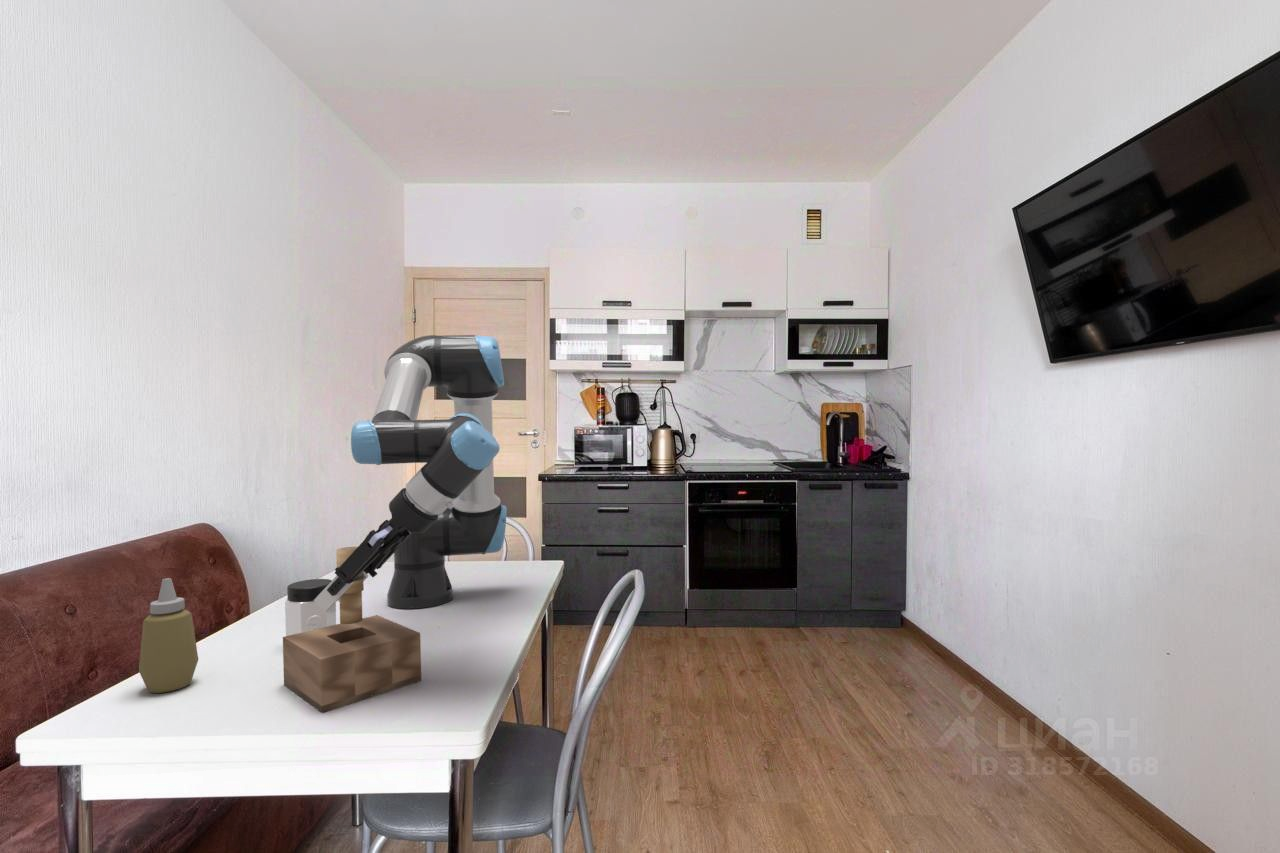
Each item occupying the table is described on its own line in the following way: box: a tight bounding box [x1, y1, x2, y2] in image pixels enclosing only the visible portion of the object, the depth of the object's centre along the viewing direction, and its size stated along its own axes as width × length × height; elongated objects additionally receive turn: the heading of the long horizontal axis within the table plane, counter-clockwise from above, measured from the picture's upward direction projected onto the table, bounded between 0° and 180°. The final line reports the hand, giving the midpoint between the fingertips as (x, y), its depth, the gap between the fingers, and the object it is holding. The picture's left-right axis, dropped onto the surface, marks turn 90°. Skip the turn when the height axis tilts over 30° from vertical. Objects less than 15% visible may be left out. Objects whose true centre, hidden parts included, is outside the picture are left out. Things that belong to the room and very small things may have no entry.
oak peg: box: [335, 546, 365, 624], centre depth 109 cm, size 4×4×12 cm
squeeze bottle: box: [138, 577, 199, 694], centre depth 110 cm, size 8×8×18 cm
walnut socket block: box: [282, 614, 422, 713], centre depth 110 cm, size 16×16×8 cm
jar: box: [284, 578, 337, 636], centre depth 130 cm, size 9×8×12 cm
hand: (329, 601), depth 110 cm, fingers closed on oak peg, 4 cm apart
